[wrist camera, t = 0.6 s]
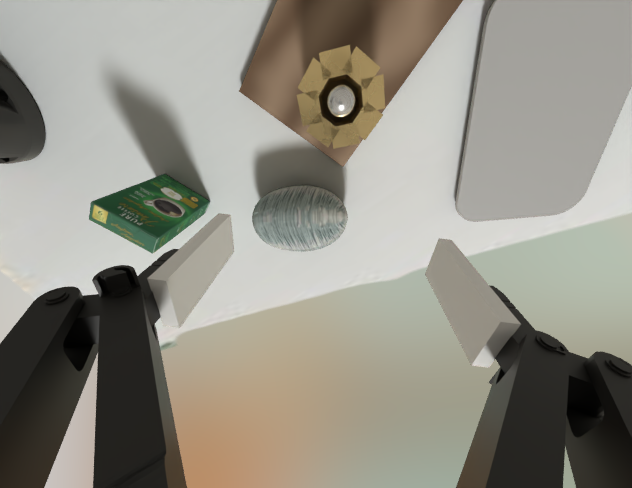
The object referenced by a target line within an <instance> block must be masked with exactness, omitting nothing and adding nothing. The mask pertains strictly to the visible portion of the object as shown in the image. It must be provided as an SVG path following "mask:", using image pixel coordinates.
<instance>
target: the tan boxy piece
mask: <svg viewBox="0 0 632 488" xmlns="http://www.w3.org/2000/svg"><path fill="white" fill-rule="evenodd" d="M319 57H320V62H318V61H317V60H316V59H315V58H314V57H313V59H312V61H311V63H310V65H309V67H308V69H307V71H306V73H305V75H304V76H303V78H302V80H301V82H300V84H299V86H298V89H300V90H301V91H302V92H303V93H302V94H298V95H297V99H298V104H299V109H300V114H301V119H302V124H303V126H306V125H310V126H309V127H308V129H307V131H306V132H308V133H309V134H310V135H312V136H313V137H314V138H316V139H317V140H319V141H320V142H321V143H323V144H324V145H325V146H327V147H329V145H330V144H331V142H332V143H333V149H335V148H340V147H345V146H350V145H355V144H360V140H359V136H360V137H361V138H363V139H364V140H365V139H366V138H367V137H368V135H369V134H370V132H371V131H372V130H373V128H374V127H375V126H376V124H377V123H378V121H379V120H380V119H381V117H382V116H383V114H381V113H380V112H379V111H378V110H380V109H384V108H385V95H384V75H383V74H382V75H378V76H375V75H376V74H377V72H378V71H379V69H380V67H379V66H378V65H377V64H376V63H375V62H374V61H372V60H371V59H370V58H369V57H368V56H367V55H366V54H365V53H363V52H362V51H361V50H360V49H359V48H358V47H357V46H356V48H355V49H354V51H353V53H352V54H351V51H350V45H347V46H343V47H339V48H336V49H332V50H328V51H324V52H320V53H319ZM343 79H346V80H347V81H348V82H350V83H351V84H352V85H353V86H354V87H356V88H357V90H358V101H359V107H358V108H357V110H356V111H355V113H354V114H353V116H352V117H351V119H350V120H347V121H342V122H338V123H335V122H334V121H333V120H331V119H330V118H329V117H327V116H326V115H325V114H324V111H323V104H322V98H321V97H322V95H323V94H324V92H325V90H326V89H327V87H328V85H329V83H330V82H334V81H339V80H343Z"/></svg>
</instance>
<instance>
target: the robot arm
mask: <svg viewBox="0 0 632 488" xmlns="http://www.w3.org/2000/svg"><path fill="white" fill-rule="evenodd" d="M44 143H45V128H44V123H43V120H42V117H41V114H40V112H39V110H38V107H37V105H36V103H35V102H34V100H33V98H32V97H31V95H30V93H29V92H28V90H27V89H26V88H25V86H24V85H23V84H22V83H21V81H20V80H19V79H18V78H17V77H16V76H15V74H14V73H13V72H12V71H11V70H10V69H9V68H8V67H7V66H6V65H4V64H3V63H2V62H1V61H0V163H2V164H8V163H16V162H22V161H27V160H31V159H33V158H35V157H37V156H38V155H39V154H40V153H41V151H42V149H43V147H44ZM233 252H234V245H233V235H232V225H231V215H228V214H217V215H216V216H215V217H214V218H213V219H212V220H211V221H210V222H209V223H208V224H206V225H205V226H204V227H203V228H202V229H201V230H200V231H199V232H198V233H197V234H195V235H194V236H193V237H192V238H191V239H190V240H189V241H188V242H187V243H186V244H185V245H183V246H182V247H181V248H180V249H173V250H170V251H168V252H166V253H164V254H163V255H162V256H161V257H160V258H158V259H157V261H155V262H154V263H153V264H152V265H151V266H149V267H148V268H147V269H146V270H144V271H143V272H142V273H141V274H140V275H139V276H137V275H136V272H135V270H134V268H133V267H131V266H125V265H121V266H114V267H111V268H108V269H105V270H103V271H101V272H99V273H98V274H97V275H95V276H94V278H93V280H92V281H93V283H94V285H95V287H96V289H97V291H98V293H99V294H97V295H86V296H82V294H81V292H80V290H79V289H78V288H76V287H62V288H57V289H54V290H51V291H49V292H47V293H45V294H43V295H41V296H40V297H38V298H37V299H36V300H35V301H34V302H33V303H32V304H31V306H30V307H29V308H28V310H27V311H26V312H25V313H24V315H23V316H22V317H21V318H20V320H19V321H18V322H17V323H16V325H15V326H14V327H13V328H12V330H11V331H10V332H9V334H8V335H7V336H6V337H5V339H4V340H3V341H2V342H1V344H0V488H44V486H45V484H46V482H47V479H48V477H49V474H50V471H51V469H52V466H53V464H54V461H55V459H56V456H57V454H58V451H59V449H60V446H61V444H62V441H63V439H64V436H65V434H66V431H67V429H68V426H69V424H70V421H71V418H72V416H73V413H74V411H75V408H76V406H77V403H78V401H79V398H80V396H81V393H82V391H83V388H84V386H85V383H86V381H87V378H88V376H89V373H90V371H91V368H92V365H93V363H94V360H95V358H96V355H97V353H98V373H97V400H96V427H95V455H94V481H93V488H187V486H186V481H185V476H184V470H183V465H182V460H181V455H180V450H179V445H178V440H177V434H176V429H175V424H174V419H173V413H172V408H171V403H170V398H169V393H168V388H167V382H166V378H165V373H164V367H163V362H162V356H161V351H160V346H159V341H158V336H157V331H156V327H155V323H156V321H157V320H158V319H159V318H161V321H162V324H163V326H167V327H174V328H180V327H181V326H182V324H183V323H184V321H185V320H186V319H187V317H188V316H189V314H190V313H191V312H192V310H193V309H194V307H195V306H196V305H197V303H198V302H199V300H200V299H201V298H202V296H203V295H204V293H205V292H206V290H207V289H208V288H209V286H210V285H211V283H212V282H213V281H214V279H215V278H216V276H217V275H218V274H219V272H220V271H221V269H222V268H223V267H224V265H225V264H226V262H227V261H228V259H229V258H230V257H231V255H232V254H233ZM425 275H426V277H427V279H428V281H429V283H430V285H431V287H432V289H433V291H434V293H435V295H436V297H437V299H438V301H439V303H440V305H441V307H442V308H443V311H444V313H445V315H446V316H447V318H448V320H449V322H450V324H451V326H452V328H453V330H454V332H455V334H456V336H457V338H458V340H459V342H460V344H461V346H462V348H463V350H464V352H465V354H466V356H467V358H468V360H469V362H470V364H471V365H472V366H480V367H488V368H489V367H490V365H491V364H492V363H493V361H494V360H495V359H496V360H497V362H498V363H499V365H500V368H499V370H498V371H497V372H496V374H495V375H494V376H493V377H492V379H491V380H490V381H489V383H490V384H492V383H493V384H492V387H491V390H490V393H489V396H488V398H487V401H486V404H485V407H484V410H483V412H482V415H481V418H480V421H479V424H478V427H477V430H476V432H475V435H474V438H473V441H472V444H471V447H470V450H469V452H468V455H467V458H466V461H465V464H464V467H463V470H462V472H461V475H460V478H459V481H458V484H457V487H456V488H563V473H564V472H563V471H564V453H565V446H566V450H567V454H568V457H569V461H570V465H571V469H572V473H573V477H574V481H575V484H576V488H632V366H631V365H630V364H629V363H627V362H626V361H624V360H622V359H621V358H618V357H616V356H614V355H612V354H608V353H605V352H595V353H594V354H593V355H592V356H591V357H590V358H589V359H588V358H585V357H582V356H579V355H576V354H573V353H570V352H569V351H568V350H567V349H566V347H565V346H564V345H563V344H562V343H561V342H559V341H558V340H557V339H555V338H554V337H552V336H550V335H548V334H546V333H543V332H540V331H536V330H535V329H534V328H533V327H532V326H531V325H530V324H529V322H528V321H527V320H526V319H525V318H524V317H523V315H522V314H521V313H520V312H519V311H518V310H517V309H515V306H514V305H513V304H512V303H510V301H509V299H508V298H507V297H506V296H505V295H504V294H503V293H502V292H501V291H499V290H498V289H497V288H495V287H494V286H489V285H488V284H487V282H486V281H485V280H484V279H483V278H482V276H481V275H480V274H479V273H478V272H477V270H476V269H475V268H474V267H473V266H472V264H471V263H470V262H469V261H468V259H467V258H466V257H465V256H464V255H463V253H462V252H461V251H460V250H459V249H458V247H457V246H456V245H455V244H454V243H453V241H452V240H447V239H439V240H438V242H437V245H436V247H435V250H434V252H433V255H432V257H431V260H430V263H429V265H428V268H427V270H426V273H425Z"/></svg>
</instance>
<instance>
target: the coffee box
mask: <svg viewBox="0 0 632 488" xmlns="http://www.w3.org/2000/svg"><path fill="white" fill-rule="evenodd" d="M209 204H210V201H209V200H207V199H205V198H204V197H202V196H201V195H199V194H197V193H195V192H194V191H192V190H190V189H189V188H187V187H186V186H184V185H182V184H181V183H179V182H178V181H176V180H174V179H172V178H171V177H169V176H168V175H166V174H163V175H160V176H157V177H155V178H153V179H150V180H148V181H145V182H142V183H140V184H137V185H134V186H132V187H129V188H126V189H124V190H121V191H118V192H116V193H113V194H111V195H108V196H105V197H103V198H100V199H97V200H95V201H92V202H91V207H90V215H89V220H91V221H93V222H95V223H97V224H99V225H101V226H102V227H104V228H106V229H108V230H110V231H112V232H114V233H116V234H117V235H119V236H121V237H123V238H125V239H127V240H129V241H130V242H132V243H134V244H136V245H138V246H140V247H142V248H144V249H145V250H147V251H149V252H151V253H154V252H156V251H157V250H158V249H159V248H161V247H162V246H163V245H165V244H166V243H167V242H169V241H170V240H171V239H173V238H174V237H175V236H176V235H178V234H179V233H180V232H182V231H183V230H184V229H185V228H187V227H188V226H189V225H191V224H192V223H193V222H194V221H196V220H197V219H198V218H200V217H201V216H202V215H203V214H204V213H205V212H206V210H207V208H208V206H209Z"/></svg>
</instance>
